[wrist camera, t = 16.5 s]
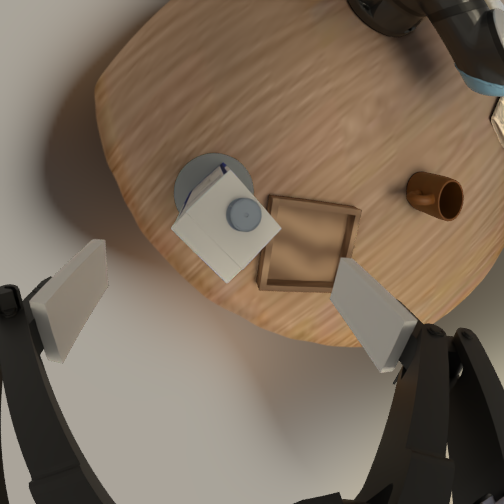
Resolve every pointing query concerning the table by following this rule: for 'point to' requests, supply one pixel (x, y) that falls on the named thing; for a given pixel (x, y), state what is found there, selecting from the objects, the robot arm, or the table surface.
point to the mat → (206, 174)
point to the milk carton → (224, 223)
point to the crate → (306, 244)
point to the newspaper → (499, 120)
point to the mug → (435, 195)
